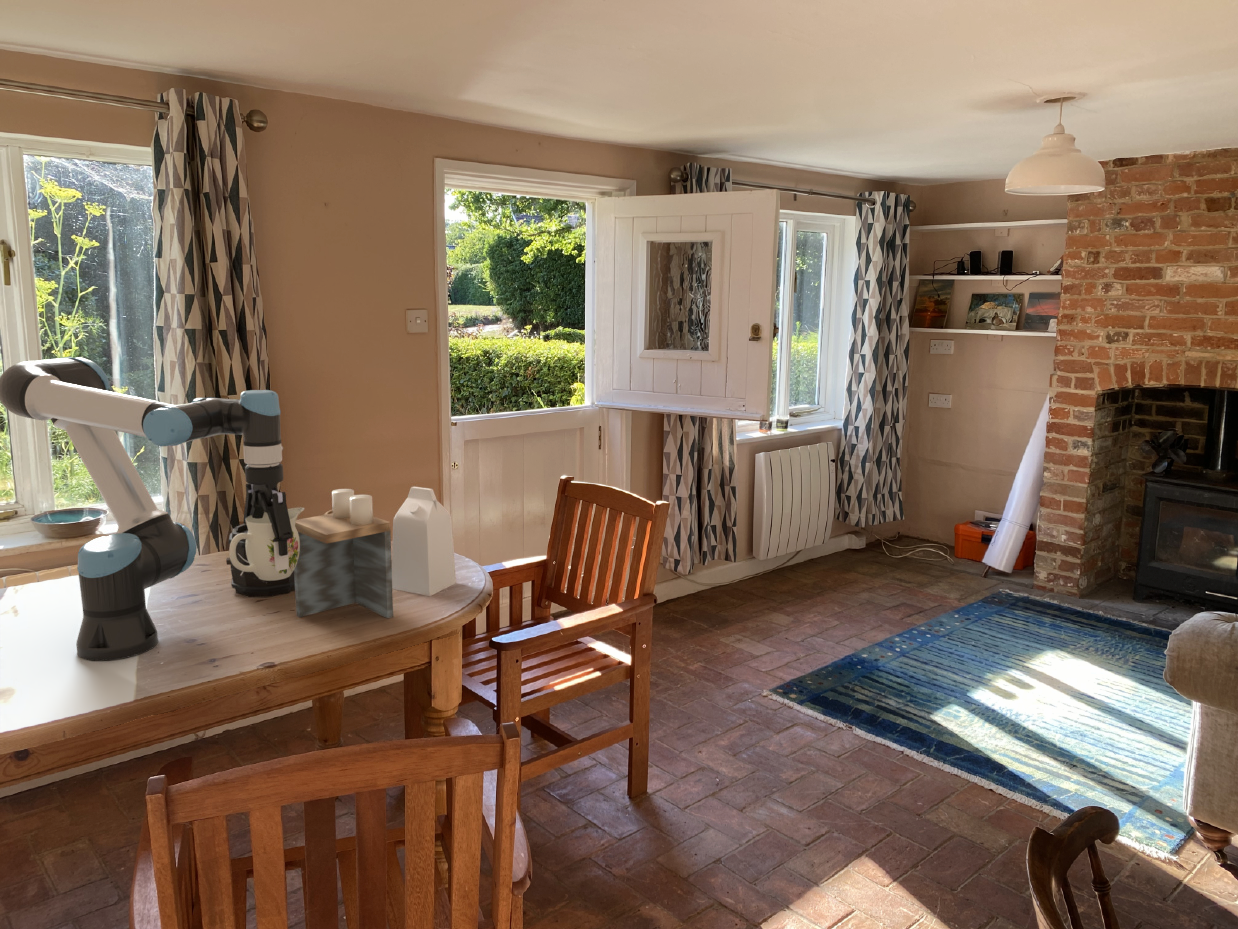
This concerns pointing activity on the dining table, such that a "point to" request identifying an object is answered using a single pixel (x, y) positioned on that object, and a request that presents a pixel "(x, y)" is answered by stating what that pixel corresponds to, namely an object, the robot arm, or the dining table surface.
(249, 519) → the pitcher
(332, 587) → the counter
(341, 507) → the white ceramic cylinder
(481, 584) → the dining table surface
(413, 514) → the milk
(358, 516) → the white ceramic cup
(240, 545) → the black octagonal canister
